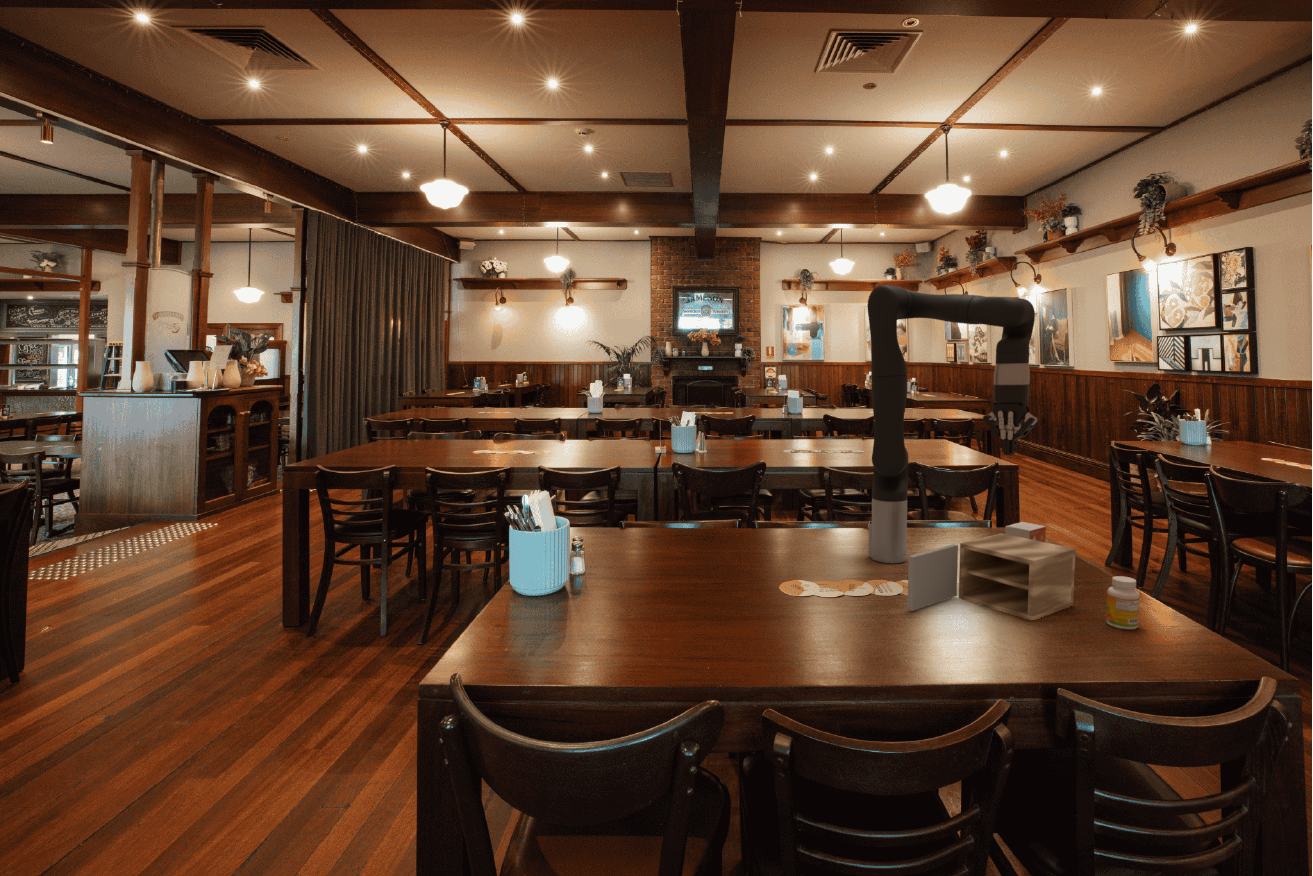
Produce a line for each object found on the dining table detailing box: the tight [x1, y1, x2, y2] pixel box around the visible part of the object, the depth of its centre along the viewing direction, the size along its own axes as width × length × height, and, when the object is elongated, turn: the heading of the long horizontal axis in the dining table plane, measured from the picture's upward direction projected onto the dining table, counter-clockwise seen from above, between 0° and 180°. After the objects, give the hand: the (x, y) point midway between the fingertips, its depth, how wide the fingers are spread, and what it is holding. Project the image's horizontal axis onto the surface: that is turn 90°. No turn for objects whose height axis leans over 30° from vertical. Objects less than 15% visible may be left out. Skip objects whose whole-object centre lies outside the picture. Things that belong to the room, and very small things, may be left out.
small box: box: [1004, 521, 1047, 543], centre depth 166 cm, size 8×6×13 cm
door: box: [906, 543, 959, 612], centre depth 148 cm, size 16×2×12 cm, turn 122°
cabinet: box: [958, 532, 1077, 621], centre depth 148 cm, size 17×16×13 cm
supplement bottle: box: [1105, 575, 1141, 630], centre depth 134 cm, size 5×5×10 cm
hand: (1008, 454), depth 158 cm, fingers closed
